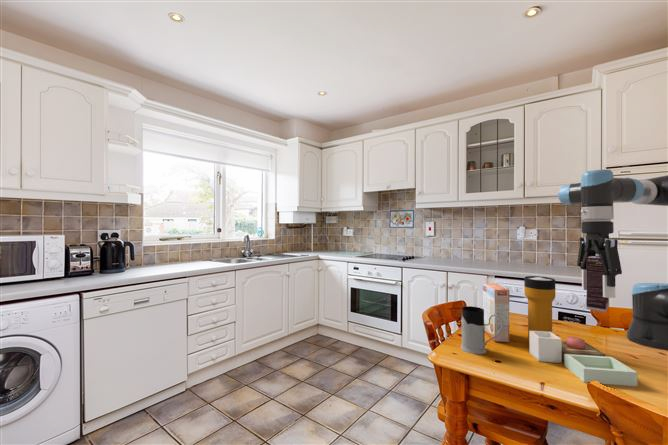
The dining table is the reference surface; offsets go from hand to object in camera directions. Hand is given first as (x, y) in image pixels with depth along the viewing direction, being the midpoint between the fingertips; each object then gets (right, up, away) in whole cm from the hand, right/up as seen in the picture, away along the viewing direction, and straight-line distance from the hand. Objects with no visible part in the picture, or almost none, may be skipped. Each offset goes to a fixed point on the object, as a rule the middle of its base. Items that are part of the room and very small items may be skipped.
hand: (597, 293), depth 95 cm
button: (+2, -21, +12) cm, 24 cm away
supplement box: (0, -5, 0) cm, 5 cm away
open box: (-8, -25, +13) cm, 29 cm away
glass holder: (-27, -26, +19) cm, 42 cm away
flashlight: (-1, -26, +25) cm, 36 cm away
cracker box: (-14, -26, +33) cm, 44 cm away
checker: (+2, -25, +12) cm, 28 cm away
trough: (0, -25, 0) cm, 25 cm away
